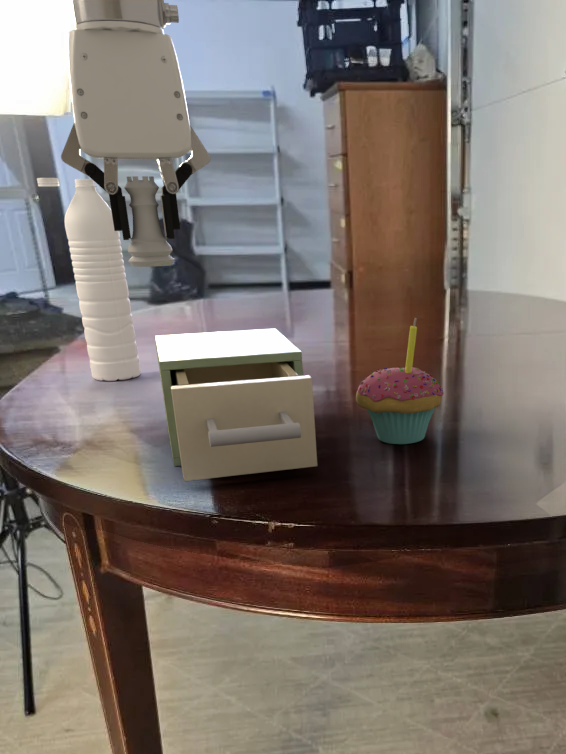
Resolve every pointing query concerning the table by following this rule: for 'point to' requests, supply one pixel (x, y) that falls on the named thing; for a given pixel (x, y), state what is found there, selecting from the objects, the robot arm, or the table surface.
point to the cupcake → (400, 399)
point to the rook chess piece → (146, 225)
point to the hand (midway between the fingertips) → (148, 236)
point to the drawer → (243, 420)
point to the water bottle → (100, 283)
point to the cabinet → (217, 359)
